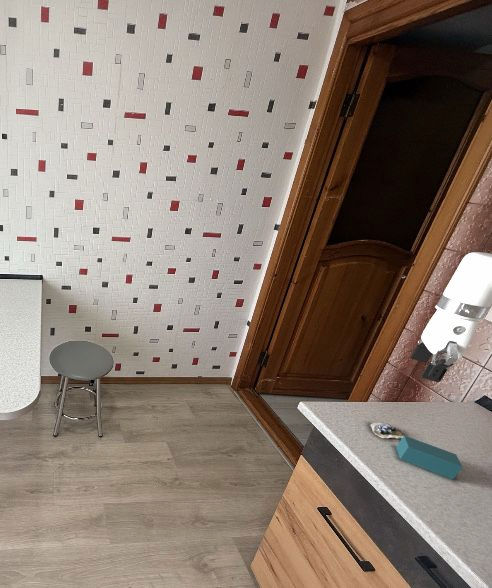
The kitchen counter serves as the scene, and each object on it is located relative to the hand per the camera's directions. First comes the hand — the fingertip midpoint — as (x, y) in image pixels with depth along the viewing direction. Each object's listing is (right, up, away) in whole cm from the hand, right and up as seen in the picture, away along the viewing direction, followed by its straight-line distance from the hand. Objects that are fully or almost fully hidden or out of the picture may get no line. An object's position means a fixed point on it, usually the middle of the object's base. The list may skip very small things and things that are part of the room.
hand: (423, 369), depth 81 cm
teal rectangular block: (+3, -23, +2) cm, 23 cm away
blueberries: (+2, -21, +12) cm, 24 cm away
